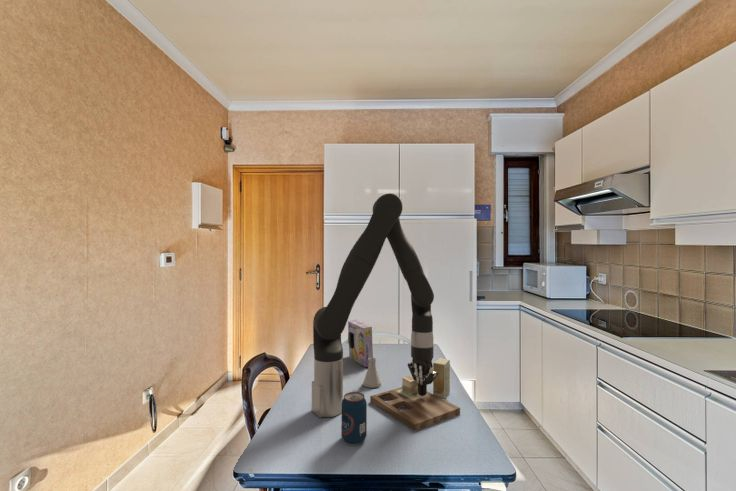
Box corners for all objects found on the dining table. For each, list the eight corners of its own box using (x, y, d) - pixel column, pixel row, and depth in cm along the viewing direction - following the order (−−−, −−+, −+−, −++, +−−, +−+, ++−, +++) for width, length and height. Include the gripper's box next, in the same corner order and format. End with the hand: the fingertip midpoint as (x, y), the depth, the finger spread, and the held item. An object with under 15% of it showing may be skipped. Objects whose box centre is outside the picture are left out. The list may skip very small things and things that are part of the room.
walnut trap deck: (415, 431, 103) (415, 424, 103) (370, 401, 122) (370, 396, 122) (460, 414, 113) (460, 407, 113) (412, 389, 133) (412, 384, 133)
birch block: (410, 394, 123) (410, 381, 123) (402, 390, 127) (402, 377, 127) (420, 391, 126) (420, 379, 126) (412, 387, 129) (412, 375, 129)
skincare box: (438, 390, 132) (438, 357, 132) (450, 393, 130) (450, 359, 130) (432, 396, 126) (432, 362, 126) (444, 399, 124) (444, 364, 124)
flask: (379, 389, 133) (380, 362, 133) (360, 387, 134) (361, 361, 134) (382, 382, 140) (382, 356, 140) (364, 380, 141) (364, 355, 141)
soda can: (336, 439, 98) (336, 396, 98) (354, 430, 103) (354, 389, 103) (353, 449, 93) (353, 404, 93) (371, 439, 98) (371, 396, 98)
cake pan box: (347, 356, 172) (347, 319, 172) (356, 354, 174) (356, 318, 174) (363, 368, 155) (363, 327, 155) (373, 366, 157) (373, 326, 157)
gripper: (444, 346, 117) (444, 399, 117) (417, 337, 128) (417, 386, 128) (427, 350, 113) (427, 405, 113) (401, 341, 124) (401, 390, 124)
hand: (422, 394), depth 121 cm, fingers closed
